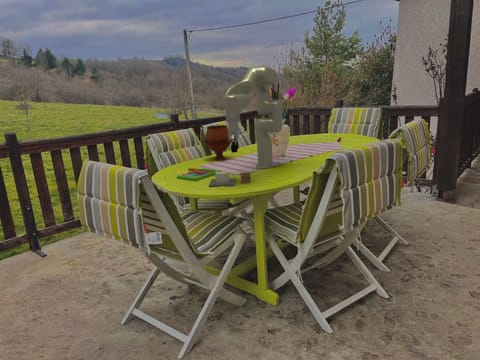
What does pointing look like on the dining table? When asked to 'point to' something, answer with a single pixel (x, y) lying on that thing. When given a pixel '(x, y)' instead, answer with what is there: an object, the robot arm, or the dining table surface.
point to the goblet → (217, 140)
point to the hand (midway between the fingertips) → (235, 150)
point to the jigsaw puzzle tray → (197, 174)
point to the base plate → (230, 183)
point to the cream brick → (222, 177)
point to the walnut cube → (245, 177)
